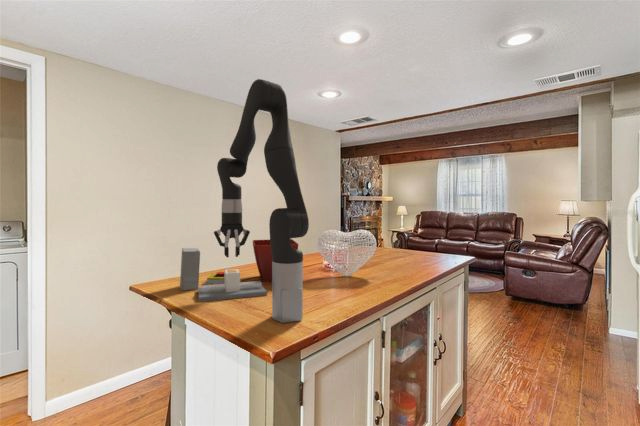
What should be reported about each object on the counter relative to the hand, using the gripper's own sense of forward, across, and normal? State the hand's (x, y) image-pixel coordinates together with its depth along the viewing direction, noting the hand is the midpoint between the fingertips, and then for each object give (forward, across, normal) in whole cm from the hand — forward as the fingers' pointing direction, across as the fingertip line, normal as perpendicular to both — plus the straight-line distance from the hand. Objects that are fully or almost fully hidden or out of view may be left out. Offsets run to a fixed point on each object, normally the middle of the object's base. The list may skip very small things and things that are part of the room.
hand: (232, 256), depth 124 cm
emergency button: (+15, +2, -20) cm, 25 cm away
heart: (+14, -54, -11) cm, 57 cm away
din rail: (+13, 0, 0) cm, 13 cm away
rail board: (+14, 0, 0) cm, 14 cm away
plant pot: (+14, -21, -19) cm, 32 cm away
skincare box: (+14, +15, -14) cm, 25 cm away
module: (+13, 0, 0) cm, 13 cm away
